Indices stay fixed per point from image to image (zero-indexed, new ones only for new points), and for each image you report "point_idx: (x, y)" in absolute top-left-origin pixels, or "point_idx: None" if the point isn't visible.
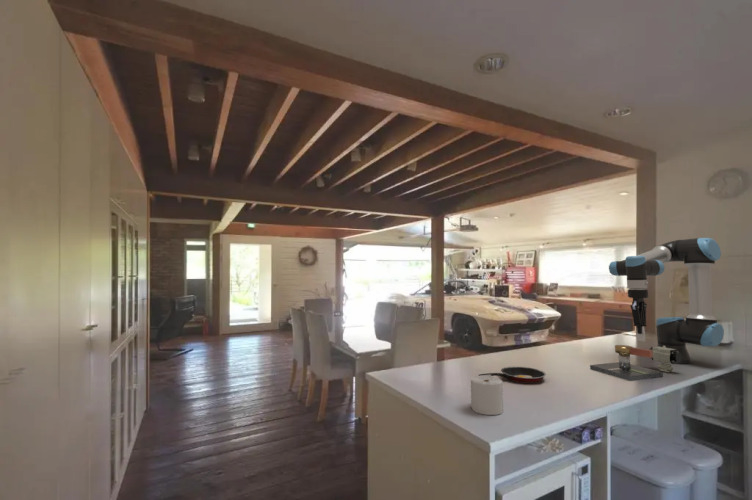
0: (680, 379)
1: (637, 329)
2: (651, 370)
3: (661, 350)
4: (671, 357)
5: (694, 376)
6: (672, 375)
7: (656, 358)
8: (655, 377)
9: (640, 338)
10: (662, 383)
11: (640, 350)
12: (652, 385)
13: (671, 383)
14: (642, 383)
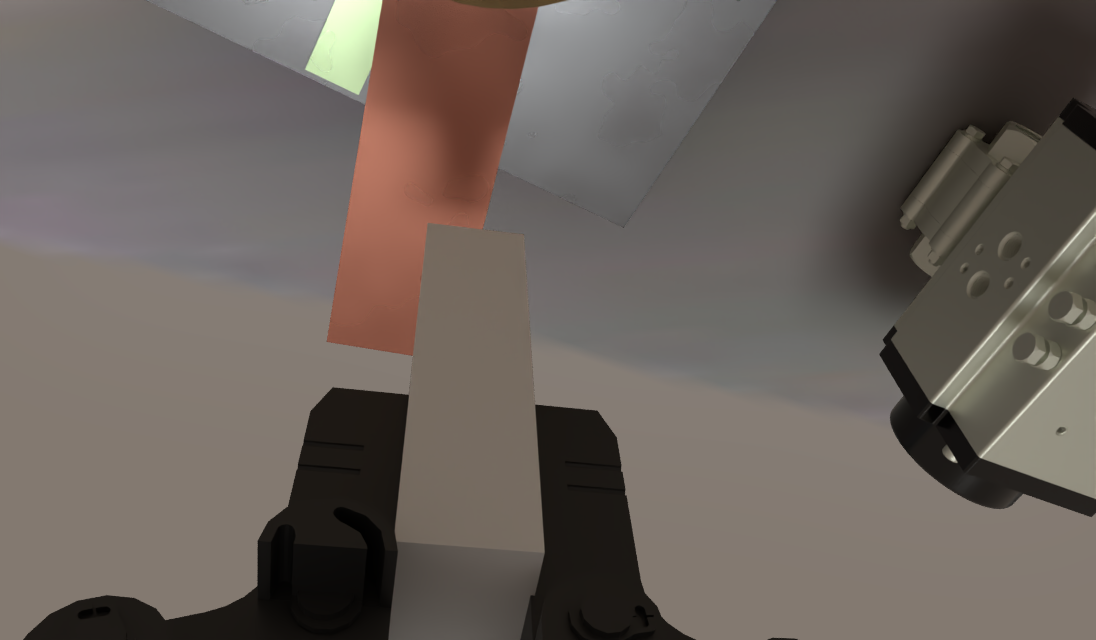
0: (612, 341)
1: (290, 497)
2: (641, 104)
3: (1020, 344)
4: (908, 395)
5: (859, 415)
6: (770, 263)
7: (1016, 185)
8: None
9: (415, 333)
10: (246, 233)
11: (354, 177)
12: (30, 165)
13: (333, 299)
14: (14, 58)
